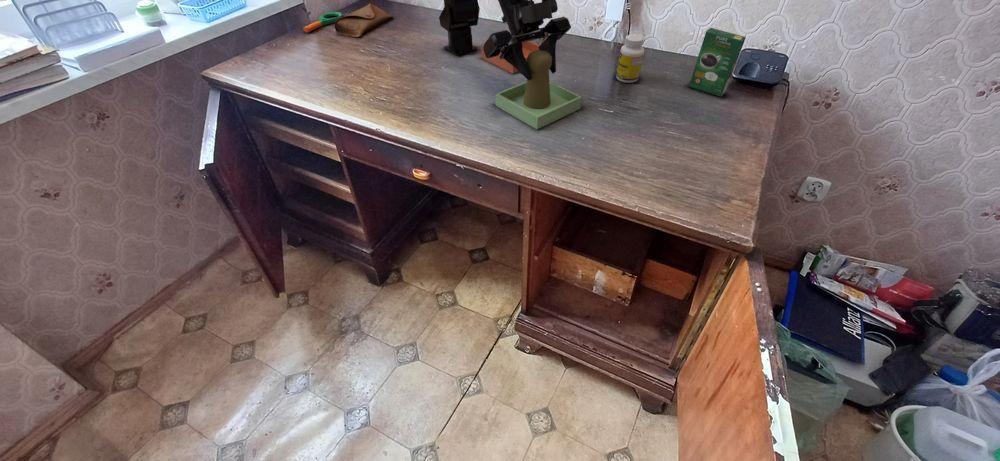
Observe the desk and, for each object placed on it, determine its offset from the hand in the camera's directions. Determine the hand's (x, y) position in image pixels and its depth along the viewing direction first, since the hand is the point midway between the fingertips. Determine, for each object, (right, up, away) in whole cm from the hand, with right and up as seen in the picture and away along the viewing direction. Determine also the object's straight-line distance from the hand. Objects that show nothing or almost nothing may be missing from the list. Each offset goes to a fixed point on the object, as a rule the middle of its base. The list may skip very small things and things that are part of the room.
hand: (542, 76), depth 97 cm
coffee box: (+39, 0, +11) cm, 41 cm away
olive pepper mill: (-1, -4, +6) cm, 7 cm away
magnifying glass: (-61, +29, +42) cm, 80 cm away
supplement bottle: (+22, +4, +16) cm, 27 cm away
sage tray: (-1, -5, +6) cm, 7 cm away
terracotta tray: (-5, +12, +24) cm, 27 cm away
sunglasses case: (-48, +28, +41) cm, 70 cm away
